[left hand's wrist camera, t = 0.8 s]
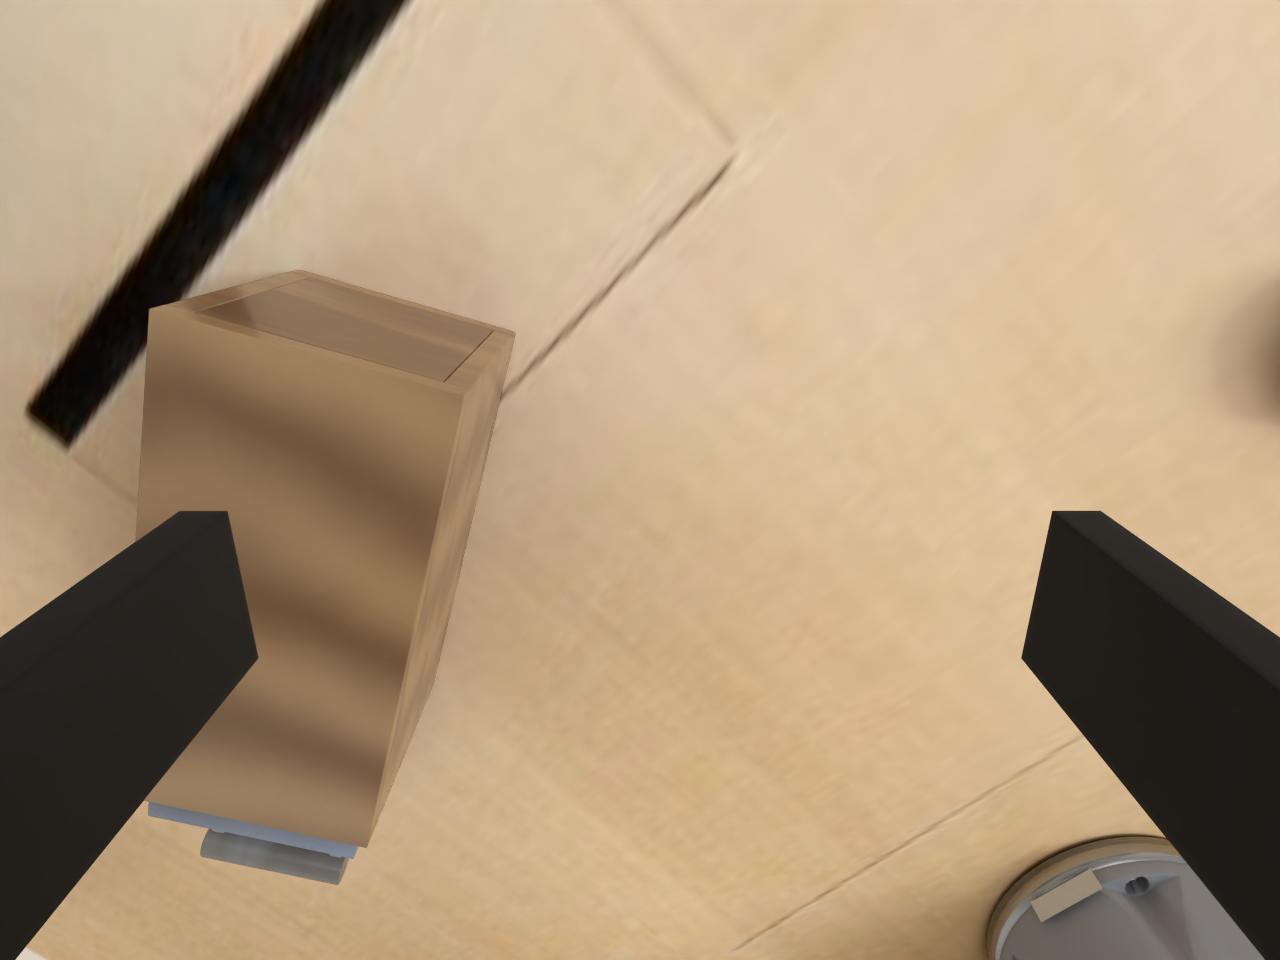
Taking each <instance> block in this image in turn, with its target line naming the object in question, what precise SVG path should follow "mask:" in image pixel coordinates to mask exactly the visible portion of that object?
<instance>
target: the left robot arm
mask: <svg viewBox="0 0 1280 960" xmlns="http://www.w3.org/2000/svg"><path fill="white" fill-rule="evenodd" d="M257 660H258V653H257V648H256V643H255V639H254V634H253V629H252V624H251V620H250V615H249V610H248V605H247V601H246V596H245V591H244V586H243V582H242V577H241V572H240V567H239V563H238V558H237V553H236V548H235V544H234V539H233V534H232V529H231V525H230V520H229V515H228V511H179V512H177V513H176V514H174V515H173V516H172V517H170V518H169V519H167V520H166V521H165V522H163V523H162V524H160V525H159V526H157V527H156V528H155V529H153V530H152V531H150V532H149V533H148V534H146V535H145V536H143V537H142V538H140V539H139V540H138V541H136V542H135V543H133V544H132V545H131V546H129V547H128V548H126V549H125V550H123V551H122V552H121V553H119V554H118V555H116V556H115V557H114V558H112V559H111V560H109V561H108V562H106V563H105V564H104V565H102V566H101V567H99V568H98V569H97V570H95V571H94V572H92V573H91V574H89V575H88V576H87V577H85V578H84V579H82V580H81V581H80V582H78V583H77V584H75V585H74V586H72V587H71V588H70V589H68V590H67V591H65V592H64V593H63V594H61V595H60V596H58V597H57V598H55V599H54V600H53V601H51V602H50V603H48V604H47V605H46V606H44V607H43V608H41V609H40V610H38V611H37V612H36V613H34V614H33V615H31V616H30V617H29V618H27V619H26V620H24V621H23V622H21V623H20V624H19V625H17V626H16V627H14V628H13V629H12V630H10V631H9V632H7V633H6V634H4V635H3V636H2V637H0V960H15V959H16V958H17V957H18V956H19V954H20V953H21V952H22V951H23V949H24V948H25V947H26V946H27V944H28V943H29V942H30V941H31V939H32V938H33V937H34V936H35V935H36V933H37V932H38V931H39V930H40V928H41V927H42V926H43V925H44V923H45V922H46V921H47V920H48V918H49V917H50V916H51V915H52V913H53V912H54V911H55V910H56V908H57V907H58V906H59V905H60V904H61V902H62V901H63V900H64V899H65V897H66V896H67V895H68V894H69V892H70V891H71V890H72V889H73V887H74V886H75V885H76V884H77V882H78V881H79V880H80V879H81V878H82V876H83V875H84V874H85V873H86V871H87V870H88V869H89V868H90V866H91V865H92V864H93V863H94V861H95V860H96V859H97V858H98V856H99V855H100V854H101V853H102V852H103V850H104V849H105V848H106V847H107V845H108V844H109V843H110V842H111V840H112V839H113V838H114V837H115V835H116V834H117V833H118V832H119V830H120V829H121V828H122V827H123V826H124V824H125V823H126V822H127V821H128V819H129V818H130V817H131V816H132V814H133V813H134V812H135V811H136V809H137V808H138V807H139V806H140V804H141V803H142V802H143V801H144V799H145V798H146V797H147V796H148V795H149V793H150V792H151V791H152V790H153V788H154V787H155V786H156V785H157V783H158V782H159V781H160V780H161V778H162V777H163V776H164V775H165V773H166V772H167V771H168V770H169V769H170V767H171V766H172V765H173V764H174V762H175V761H176V760H177V759H178V757H179V756H180V755H181V754H182V752H183V751H184V750H185V749H186V747H187V746H188V745H189V744H190V743H191V741H192V740H193V739H194V738H195V736H196V735H197V734H198V733H199V731H200V730H201V729H202V728H203V726H204V725H205V724H206V723H207V721H208V720H209V719H210V718H211V717H212V715H213V714H214V713H215V712H216V710H217V709H218V708H219V707H220V705H221V704H222V703H223V702H224V700H225V699H226V698H227V697H228V695H229V694H230V693H231V692H232V690H233V689H234V688H235V687H236V686H237V684H238V683H239V682H240V681H241V679H242V678H243V677H244V676H245V674H246V673H247V672H248V671H249V669H250V668H251V667H252V666H253V664H254V663H255V662H256V661H257ZM1022 660H1023V661H1024V662H1025V663H1026V664H1027V666H1028V667H1029V668H1030V669H1031V671H1032V672H1033V673H1034V674H1035V676H1036V677H1037V678H1038V679H1039V681H1040V682H1041V683H1042V684H1043V686H1044V687H1045V688H1046V689H1047V690H1048V692H1049V693H1050V694H1051V695H1052V697H1053V698H1054V699H1055V700H1056V702H1057V703H1058V704H1059V705H1060V707H1061V708H1062V709H1063V710H1064V712H1065V713H1066V714H1067V715H1068V717H1069V718H1070V719H1071V720H1072V721H1073V723H1074V724H1075V725H1076V726H1077V728H1078V729H1079V730H1080V731H1081V733H1082V734H1083V735H1084V736H1085V738H1086V739H1087V740H1088V741H1089V743H1090V744H1091V745H1092V746H1093V747H1094V749H1095V750H1096V751H1097V752H1098V754H1099V755H1100V756H1101V757H1102V759H1103V760H1104V761H1105V762H1106V764H1107V765H1108V766H1109V767H1110V769H1111V770H1112V771H1113V772H1114V773H1115V775H1116V776H1117V777H1118V778H1119V780H1120V781H1121V782H1122V783H1123V785H1124V786H1125V787H1126V788H1127V790H1128V791H1129V792H1130V793H1131V795H1132V796H1133V797H1134V798H1135V799H1136V801H1137V802H1138V803H1139V804H1140V806H1141V807H1142V808H1143V809H1144V811H1145V812H1146V813H1147V814H1148V816H1149V817H1150V818H1151V819H1152V821H1153V822H1154V823H1155V824H1156V826H1157V827H1158V828H1159V829H1160V830H1161V832H1162V833H1163V834H1164V835H1165V837H1166V838H1167V839H1168V840H1169V842H1170V843H1171V844H1172V845H1173V847H1174V848H1175V849H1176V850H1177V852H1178V853H1179V854H1180V855H1181V856H1182V858H1183V859H1184V860H1185V861H1186V863H1187V864H1188V865H1189V866H1190V868H1191V869H1192V870H1193V871H1194V873H1195V874H1196V875H1197V876H1198V878H1199V879H1200V880H1201V881H1202V882H1203V884H1204V885H1205V886H1206V887H1207V889H1208V890H1209V891H1210V892H1211V894H1212V895H1213V896H1214V897H1215V899H1216V900H1217V901H1218V902H1219V904H1220V905H1221V906H1222V907H1223V908H1224V910H1225V911H1226V912H1227V913H1228V915H1229V916H1230V917H1231V918H1232V920H1233V921H1234V922H1235V923H1236V925H1237V926H1238V927H1239V928H1240V930H1241V931H1242V932H1243V933H1244V935H1245V936H1246V937H1247V938H1248V939H1249V941H1250V942H1251V943H1252V944H1253V946H1254V947H1255V948H1256V949H1257V951H1258V952H1259V953H1260V954H1261V956H1262V957H1263V958H1264V959H1265V960H1280V637H1278V636H1277V635H1276V634H1274V633H1273V632H1271V631H1270V630H1268V629H1267V628H1266V627H1264V626H1263V625H1261V624H1260V623H1259V622H1257V621H1256V620H1254V619H1253V618H1251V617H1250V616H1249V615H1247V614H1246V613H1244V612H1243V611H1242V610H1240V609H1239V608H1237V607H1236V606H1234V605H1233V604H1232V603H1230V602H1229V601H1227V600H1226V599H1225V598H1223V597H1222V596H1220V595H1219V594H1217V593H1216V592H1215V591H1213V590H1212V589H1210V588H1209V587H1208V586H1206V585H1205V584H1203V583H1202V582H1200V581H1199V580H1198V579H1196V578H1195V577H1193V576H1192V575H1191V574H1189V573H1188V572H1186V571H1185V570H1183V569H1182V568H1181V567H1179V566H1178V565H1176V564H1175V563H1174V562H1172V561H1171V560H1169V559H1168V558H1166V557H1165V556H1164V555H1162V554H1161V553H1159V552H1158V551H1157V550H1155V549H1154V548H1152V547H1151V546H1149V545H1148V544H1147V543H1145V542H1144V541H1142V540H1141V539H1140V538H1138V537H1137V536H1135V535H1134V534H1132V533H1131V532H1130V531H1128V530H1127V529H1125V528H1124V527H1123V526H1121V525H1120V524H1118V523H1117V522H1115V521H1114V520H1113V519H1111V518H1110V517H1108V516H1107V515H1106V514H1104V513H1103V512H1101V511H1052V515H1051V520H1050V525H1049V529H1048V534H1047V539H1046V544H1045V548H1044V553H1043V558H1042V563H1041V567H1040V572H1039V577H1038V582H1037V586H1036V591H1035V596H1034V601H1033V605H1032V610H1031V615H1030V620H1029V624H1028V629H1027V634H1026V639H1025V643H1024V648H1023V653H1022Z"/></svg>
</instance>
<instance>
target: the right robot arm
mask: <svg viewBox="0 0 1280 960" xmlns="http://www.w3.org/2000/svg"><path fill="white" fill-rule="evenodd" d="M986 944H987V953H988V957H989V960H1265V959H1264V958H1263V957H1262V956H1261V954H1260V953H1259V952H1258V951H1257V949H1256V948H1255V947H1254V946H1253V944H1252V943H1251V942H1250V941H1249V939H1248V938H1247V937H1246V936H1245V935H1244V933H1243V932H1242V931H1241V930H1240V928H1239V927H1238V926H1237V925H1236V923H1235V922H1234V921H1233V920H1232V918H1231V917H1230V916H1229V915H1228V913H1227V912H1226V911H1225V910H1224V908H1223V907H1222V906H1221V905H1220V904H1219V902H1218V901H1217V900H1216V899H1215V897H1214V896H1213V895H1212V894H1211V892H1210V891H1209V890H1208V889H1207V887H1206V886H1205V885H1204V884H1203V882H1202V881H1201V880H1200V879H1199V878H1198V876H1197V875H1196V874H1195V873H1194V871H1193V870H1192V869H1191V868H1190V866H1189V865H1188V864H1187V863H1186V861H1185V860H1184V859H1183V858H1182V856H1181V855H1180V854H1179V853H1178V852H1177V850H1176V849H1175V848H1174V847H1173V845H1172V844H1171V843H1170V842H1169V840H1166V839H1161V838H1153V837H1120V838H1111V839H1106V840H1100V841H1096V842H1092V843H1088V844H1084V845H1081V846H1078V847H1075V848H1072V849H1070V850H1067V851H1065V852H1062V853H1060V854H1058V855H1056V856H1054V857H1052V858H1050V859H1048V860H1047V861H1045V862H1043V863H1041V864H1040V865H1038V866H1037V867H1035V868H1034V869H1032V870H1031V871H1029V872H1028V873H1027V874H1026V875H1024V876H1023V877H1022V878H1021V879H1020V880H1019V881H1017V882H1016V883H1015V884H1014V885H1013V886H1012V887H1011V888H1010V890H1009V891H1008V892H1007V893H1006V894H1005V895H1004V897H1003V898H1002V900H1001V901H1000V902H999V904H998V906H997V907H996V909H995V911H994V913H993V915H992V918H991V920H990V923H989V927H988V932H987V943H986Z"/></svg>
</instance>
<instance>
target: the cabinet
mask: <svg viewBox="0 0 1280 960" xmlns="http://www.w3.org/2000/svg"><path fill="white" fill-rule="evenodd" d="M514 338H515V332H513V331H510V330H506V329H503V328H499V327H496V326H492V325H489V324H485V323H482V322H478V321H475V320H471V319H468V318H464V317H461V316H458V315H454V314H451V313H447V312H444V311H440V310H437V309H433V308H430V307H426V306H423V305H419V304H416V303H412V302H409V301H406V300H402V299H399V298H395V297H392V296H388V295H385V294H381V293H378V292H374V291H371V290H367V289H364V288H360V287H357V286H354V285H350V284H347V283H343V282H340V281H336V280H333V279H329V278H326V277H322V276H319V275H315V274H312V273H308V272H305V271H302V270H296V271H292V272H287V273H284V274H280V275H276V276H272V277H268V278H265V279H261V280H257V281H253V282H250V283H246V284H242V285H238V286H234V287H231V288H227V289H223V290H219V291H216V292H212V293H208V294H204V295H200V296H197V297H193V298H189V299H185V300H181V301H178V302H174V303H170V304H167V305H162V306H158V307H155V308H151V309H149V321H148V338H147V356H146V373H145V390H144V408H143V425H142V442H141V460H140V477H139V495H138V512H137V529H136V541H138V540H139V539H140V538H142V537H143V536H145V535H146V534H148V533H149V532H150V531H152V530H153V529H155V528H156V527H157V526H159V525H160V524H162V523H163V522H165V521H166V520H167V519H169V518H170V517H172V516H173V515H174V514H176V513H177V512H179V511H228V515H229V520H230V525H231V529H232V534H233V539H234V544H235V548H236V553H237V558H238V563H239V567H240V572H241V577H242V582H243V586H244V591H245V596H246V601H247V605H248V610H249V615H250V620H251V624H252V629H253V634H254V639H255V643H256V648H257V653H258V660H257V661H256V662H255V663H254V664H253V666H252V667H251V668H250V669H249V671H248V672H247V673H246V674H245V676H244V677H243V678H242V679H241V681H240V682H239V683H238V684H237V686H236V687H235V688H234V689H233V690H232V692H231V693H230V694H229V695H228V697H227V698H226V699H225V700H224V702H223V703H222V704H221V705H220V707H219V708H218V709H217V710H216V712H215V713H214V714H213V715H212V717H211V718H210V719H209V720H208V721H207V723H206V724H205V725H204V726H203V728H202V729H201V730H200V731H199V733H198V734H197V735H196V736H195V738H194V739H193V740H192V741H191V743H190V744H189V745H188V746H187V747H186V749H185V750H184V751H183V752H182V754H181V755H180V756H179V757H178V759H177V760H176V761H175V762H174V764H173V765H172V766H171V767H170V769H169V770H168V771H167V772H166V773H165V775H164V776H163V777H162V778H161V780H160V781H159V782H158V783H157V785H156V786H155V787H154V788H153V790H152V791H151V792H150V793H149V795H148V796H147V797H146V798H145V799H144V801H149V802H154V803H158V804H163V805H168V806H173V807H177V808H182V809H187V810H191V811H196V812H201V813H205V814H210V815H215V816H219V817H224V818H229V819H234V820H238V821H243V822H248V823H252V824H257V825H262V826H266V827H271V828H276V829H280V830H285V831H290V832H294V833H299V834H304V835H309V836H313V837H318V838H323V839H327V840H332V841H337V842H341V843H346V844H351V845H355V846H360V847H365V848H366V847H367V846H368V844H369V841H370V839H371V836H372V834H373V831H374V828H375V826H376V824H377V821H378V819H379V816H380V814H381V812H382V809H383V807H384V804H385V802H386V799H387V797H388V794H389V792H390V790H391V787H392V785H393V782H394V780H395V777H396V775H397V772H398V770H399V768H400V765H401V763H402V760H403V758H404V755H405V753H406V750H407V748H408V746H409V743H410V741H411V738H412V736H413V733H414V731H415V728H416V726H417V724H418V721H419V719H420V716H421V714H422V711H423V709H424V706H425V704H426V702H427V699H428V697H429V694H430V692H431V689H432V687H433V684H434V681H435V677H436V672H437V668H438V664H439V659H440V655H441V651H442V647H443V642H444V638H445V634H446V629H447V625H448V621H449V617H450V612H451V608H452V604H453V599H454V595H455V591H456V587H457V582H458V578H459V574H460V569H461V565H462V561H463V557H464V552H465V548H466V544H467V539H468V535H469V531H470V527H471V522H472V518H473V514H474V509H475V505H476V501H477V497H478V492H479V488H480V484H481V479H482V475H483V471H484V467H485V462H486V458H487V454H488V450H489V445H490V441H491V437H492V432H493V428H494V424H495V420H496V415H497V411H498V407H499V402H500V398H501V394H502V390H503V385H504V381H505V377H506V372H507V368H508V364H509V360H510V355H511V351H512V347H513V342H514Z"/></svg>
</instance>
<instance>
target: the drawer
mask: <svg viewBox="0 0 1280 960" xmlns="http://www.w3.org/2000/svg"><path fill="white" fill-rule="evenodd" d="M148 815H149V816H153V817H157V818H162V819H167V820H171V821H176V822H181V823H186V824H190V825H195V826H200V827H205V828H209V830H208V831H207V833H206V835H205V838H204V840H203V843H202V846H201V852H200V855H201V856H202V857H205V858H210V859H215V860H220V861H224V862H229V863H234V864H239V865H244V866H248V867H253V868H258V869H263V870H268V871H273V872H277V873H282V874H287V875H292V876H297V877H301V878H306V879H311V880H316V881H321V882H326V883H330V884H335V885H338V884H339V883H340V881H341V879H342V877H343V875H344V872H345V869H346V866H347V863H348V860H349V858H351V859H353V858H354V856H355V854H356V852H357V849H358V847H359V846H355V845H351V844H346V843H341V842H337V841H332V840H327V839H323V838H318V837H313V836H309V835H304V834H299V833H294V832H290V831H285V830H280V829H276V828H271V827H266V826H262V825H257V824H252V823H248V822H243V821H238V820H234V819H229V818H224V817H219V816H215V815H210V814H205V813H201V812H196V811H191V810H187V809H182V808H177V807H173V806H168V805H163V804H158V803H154V802H149V809H148Z"/></svg>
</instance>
